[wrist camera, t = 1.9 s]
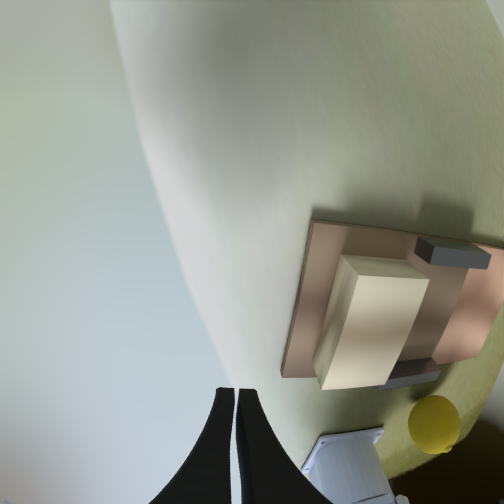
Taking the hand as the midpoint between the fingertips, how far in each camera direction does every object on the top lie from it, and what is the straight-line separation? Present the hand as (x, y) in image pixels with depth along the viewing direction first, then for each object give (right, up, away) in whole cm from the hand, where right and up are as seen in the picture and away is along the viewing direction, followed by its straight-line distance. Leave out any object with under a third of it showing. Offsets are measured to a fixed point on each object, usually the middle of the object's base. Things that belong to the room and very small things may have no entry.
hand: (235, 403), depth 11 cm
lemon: (+19, -10, +14) cm, 26 cm away
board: (+14, +2, +9) cm, 17 cm away
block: (+8, +2, +8) cm, 11 cm away
